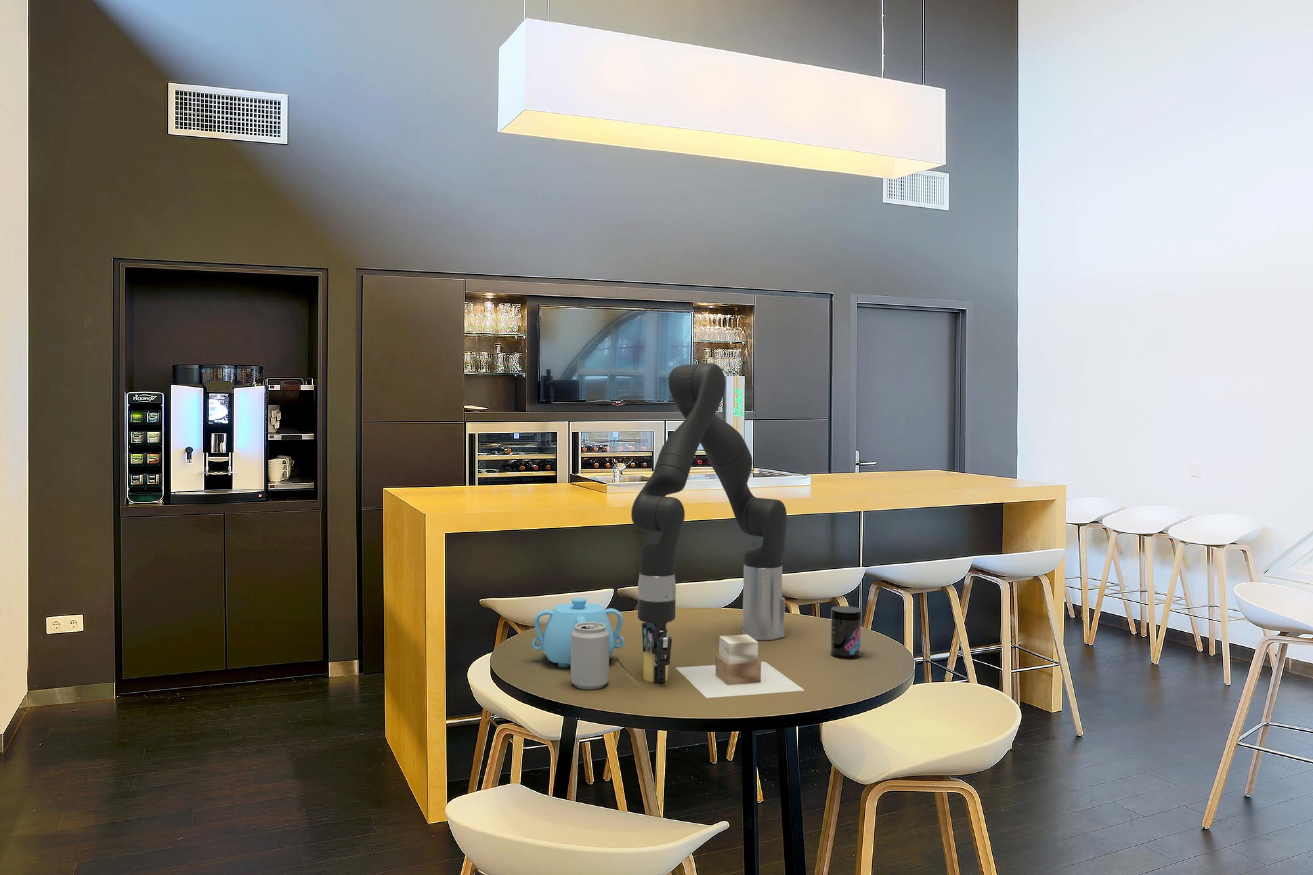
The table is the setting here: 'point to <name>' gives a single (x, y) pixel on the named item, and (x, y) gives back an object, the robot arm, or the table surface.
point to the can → (589, 655)
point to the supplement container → (846, 632)
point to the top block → (738, 649)
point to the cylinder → (650, 667)
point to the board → (716, 687)
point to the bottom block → (738, 672)
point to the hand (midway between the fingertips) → (655, 679)
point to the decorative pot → (572, 628)
